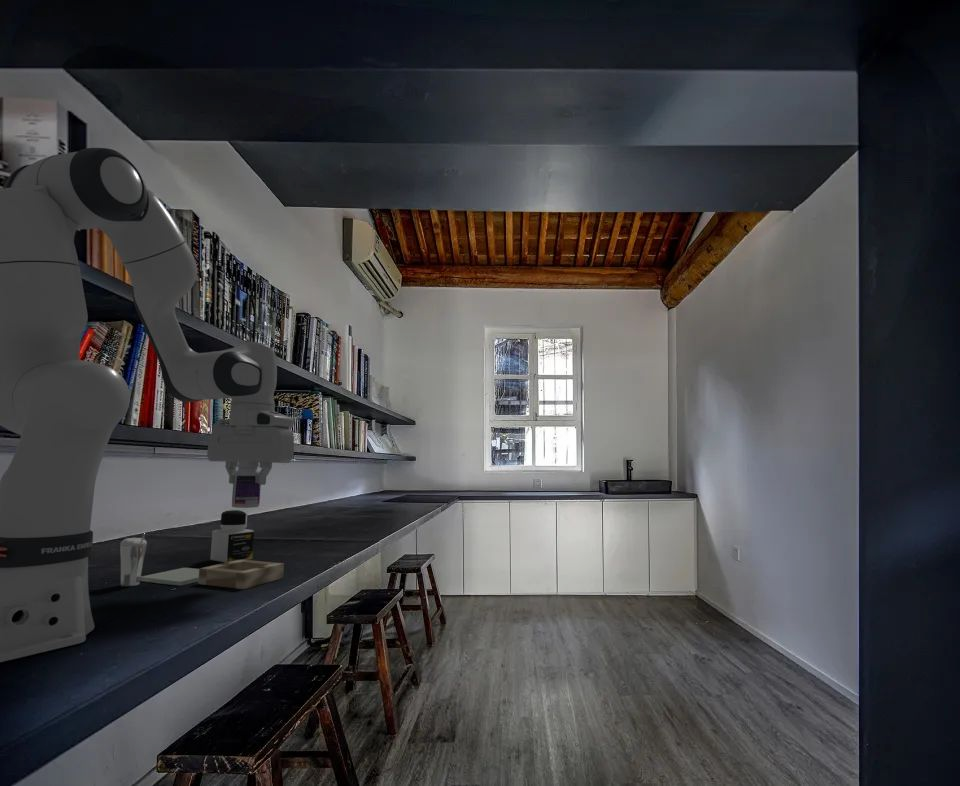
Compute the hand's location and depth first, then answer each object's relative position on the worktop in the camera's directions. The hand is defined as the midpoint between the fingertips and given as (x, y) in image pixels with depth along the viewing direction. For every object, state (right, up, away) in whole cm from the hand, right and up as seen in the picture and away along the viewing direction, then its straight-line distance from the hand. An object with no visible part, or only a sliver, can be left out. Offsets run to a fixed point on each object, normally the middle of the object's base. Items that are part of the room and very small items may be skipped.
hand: (247, 484), depth 119 cm
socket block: (0, -20, -2) cm, 20 cm away
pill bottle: (0, -5, -1) cm, 5 cm away
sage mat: (-13, -20, 0) cm, 24 cm away
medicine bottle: (-13, -23, +22) cm, 34 cm away
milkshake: (-20, -19, -7) cm, 28 cm away
